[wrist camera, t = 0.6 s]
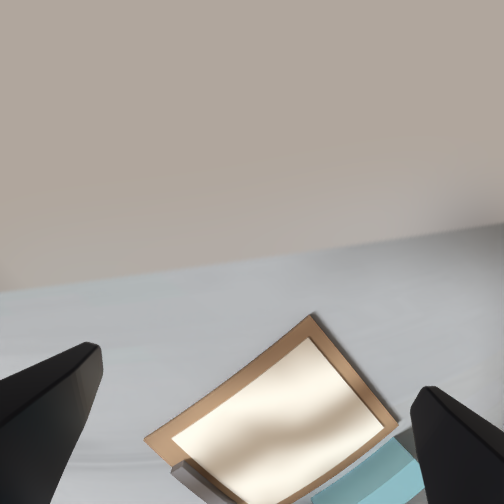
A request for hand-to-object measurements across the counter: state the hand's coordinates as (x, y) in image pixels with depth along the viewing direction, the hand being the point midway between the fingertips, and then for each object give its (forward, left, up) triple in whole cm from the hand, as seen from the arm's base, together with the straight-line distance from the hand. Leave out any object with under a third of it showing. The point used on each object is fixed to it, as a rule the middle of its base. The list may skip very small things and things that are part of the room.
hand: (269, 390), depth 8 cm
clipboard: (-8, +5, -13) cm, 16 cm away
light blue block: (-18, +3, -13) cm, 22 cm away
